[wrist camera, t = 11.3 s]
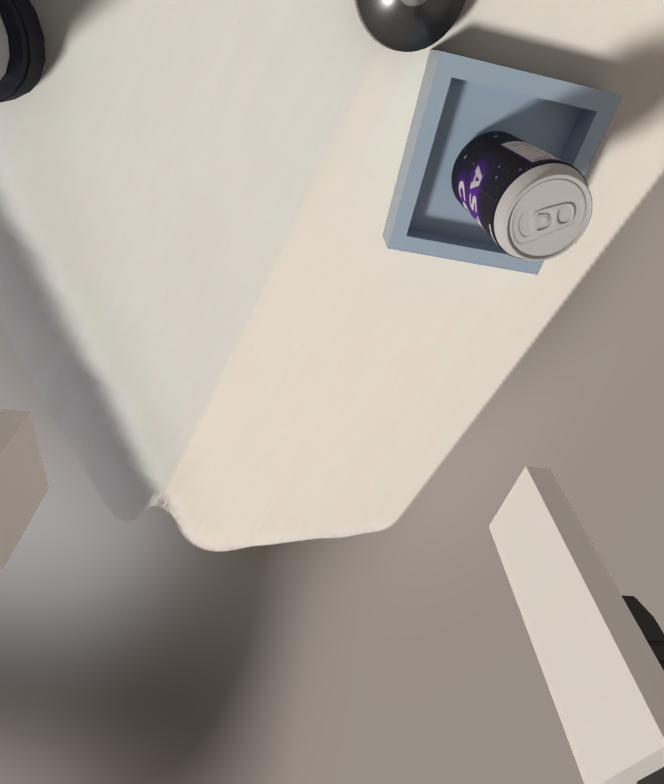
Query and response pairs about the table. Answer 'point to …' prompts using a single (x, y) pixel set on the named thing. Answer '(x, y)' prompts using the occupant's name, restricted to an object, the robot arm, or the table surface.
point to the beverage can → (522, 195)
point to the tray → (464, 123)
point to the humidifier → (19, 49)
